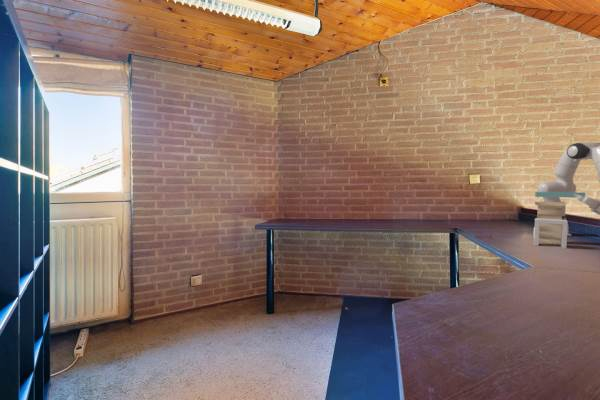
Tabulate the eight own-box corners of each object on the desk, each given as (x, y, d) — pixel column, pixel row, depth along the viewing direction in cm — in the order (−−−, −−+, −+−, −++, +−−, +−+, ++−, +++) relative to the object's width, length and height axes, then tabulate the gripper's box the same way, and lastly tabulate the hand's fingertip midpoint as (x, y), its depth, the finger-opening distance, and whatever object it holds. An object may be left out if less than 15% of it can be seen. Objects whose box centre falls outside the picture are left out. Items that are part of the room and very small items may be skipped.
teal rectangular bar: (535, 196, 204) (535, 191, 204) (584, 197, 190) (584, 192, 190) (535, 196, 201) (535, 192, 201) (584, 197, 187) (585, 192, 187)
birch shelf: (533, 240, 208) (534, 201, 206) (562, 242, 199) (564, 202, 197) (533, 241, 201) (535, 202, 200) (564, 244, 192) (565, 202, 191)
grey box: (534, 243, 197) (535, 218, 196) (564, 245, 188) (566, 219, 187) (534, 245, 191) (535, 219, 190) (566, 248, 182) (567, 221, 181)
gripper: (599, 200, 192) (574, 189, 199) (606, 202, 176) (579, 190, 182) (592, 209, 195) (567, 197, 201) (598, 212, 178) (571, 199, 185)
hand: (573, 194), depth 192 cm, fingers closed on teal rectangular bar, 3 cm apart
